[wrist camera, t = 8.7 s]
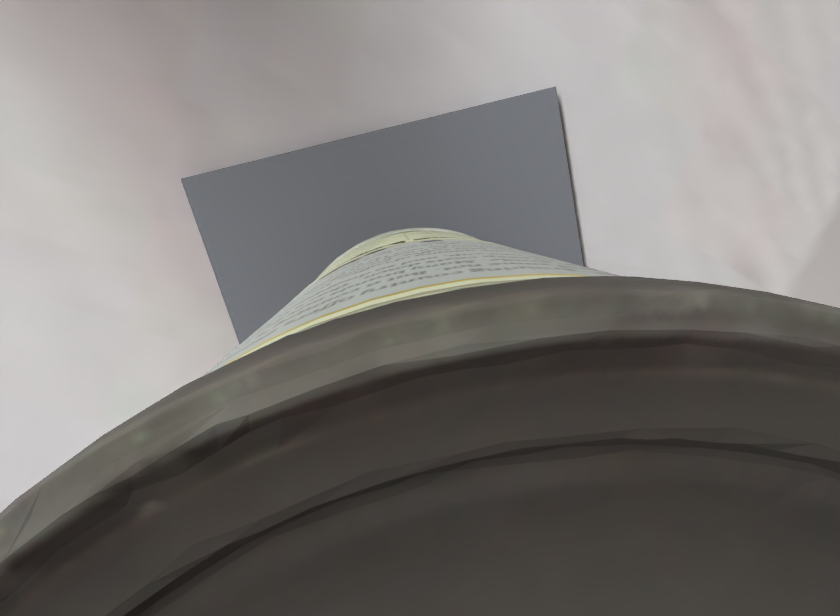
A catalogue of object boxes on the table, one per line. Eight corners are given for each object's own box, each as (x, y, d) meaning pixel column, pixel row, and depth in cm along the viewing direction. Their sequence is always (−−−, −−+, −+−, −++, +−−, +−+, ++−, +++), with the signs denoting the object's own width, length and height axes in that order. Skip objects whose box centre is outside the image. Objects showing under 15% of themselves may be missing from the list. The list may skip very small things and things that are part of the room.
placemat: (550, 90, 19) (555, 86, 18) (607, 454, 23) (613, 460, 22) (187, 180, 18) (180, 179, 18) (311, 530, 22) (309, 538, 22)
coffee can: (602, 316, 17) (1506, 754, 3) (457, 515, 18) (656, 1392, 5) (379, 165, 15) (295, -277, 1) (238, 399, 17) (-468, 1270, 3)
